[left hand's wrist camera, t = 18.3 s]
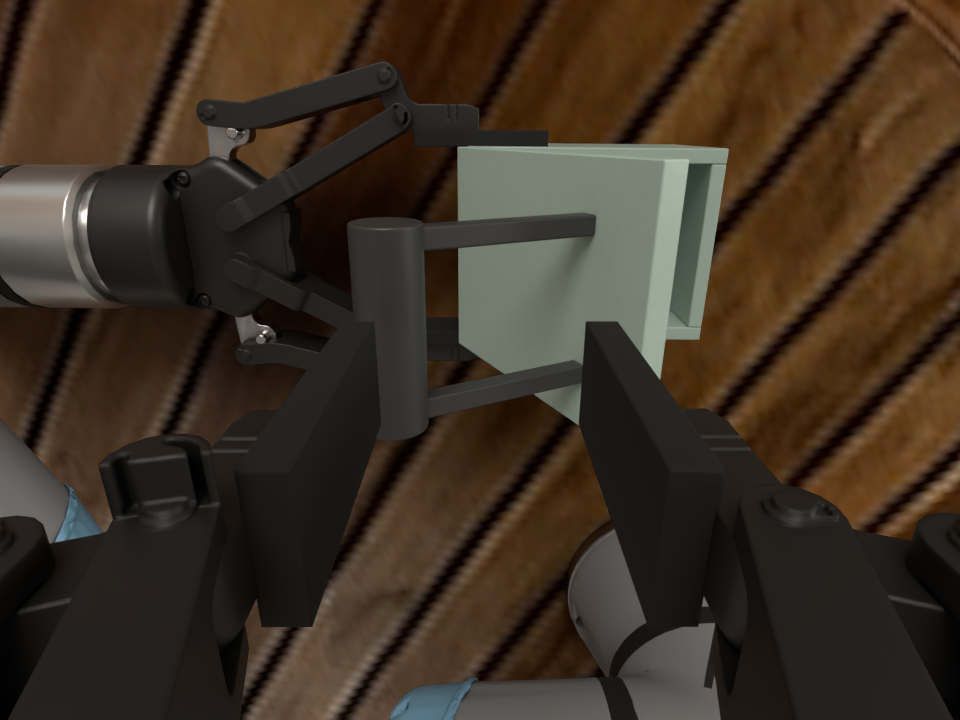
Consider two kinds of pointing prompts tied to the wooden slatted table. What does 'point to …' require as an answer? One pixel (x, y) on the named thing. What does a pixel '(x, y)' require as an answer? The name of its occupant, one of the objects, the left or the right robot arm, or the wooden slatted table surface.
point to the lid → (522, 276)
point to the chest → (694, 227)
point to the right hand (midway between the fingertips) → (540, 240)
